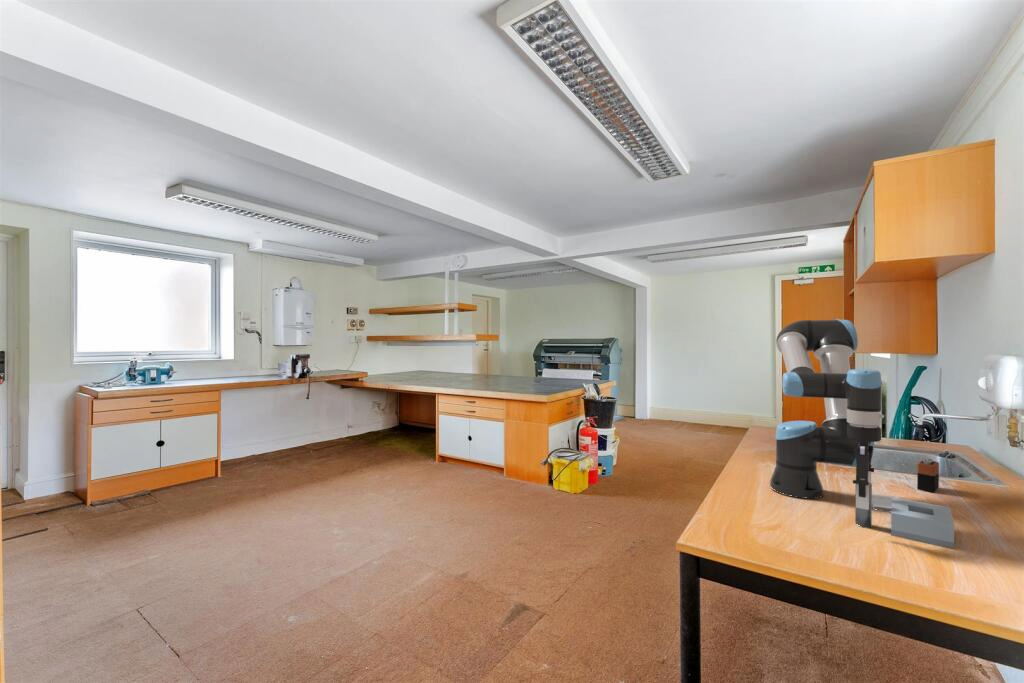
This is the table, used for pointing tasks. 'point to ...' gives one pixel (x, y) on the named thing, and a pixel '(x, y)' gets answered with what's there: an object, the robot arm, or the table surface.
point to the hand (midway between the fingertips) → (863, 501)
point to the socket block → (922, 522)
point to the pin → (864, 512)
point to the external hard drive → (882, 502)
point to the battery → (928, 475)
